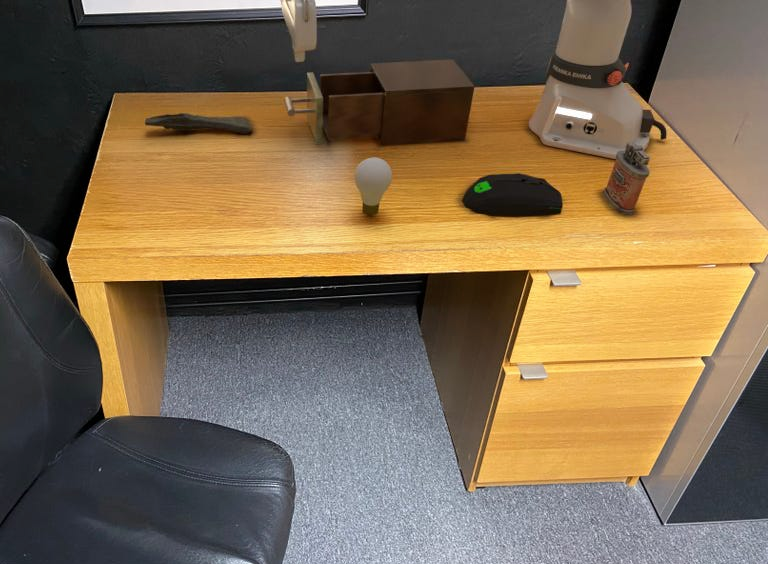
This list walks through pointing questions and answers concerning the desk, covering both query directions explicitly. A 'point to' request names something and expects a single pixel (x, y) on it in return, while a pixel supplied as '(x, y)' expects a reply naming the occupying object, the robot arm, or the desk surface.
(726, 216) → the desk surface
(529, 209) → the computer mouse
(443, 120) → the cabinet
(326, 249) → the desk surface
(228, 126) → the tool
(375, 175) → the light bulb
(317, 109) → the drawer
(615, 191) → the lighter
